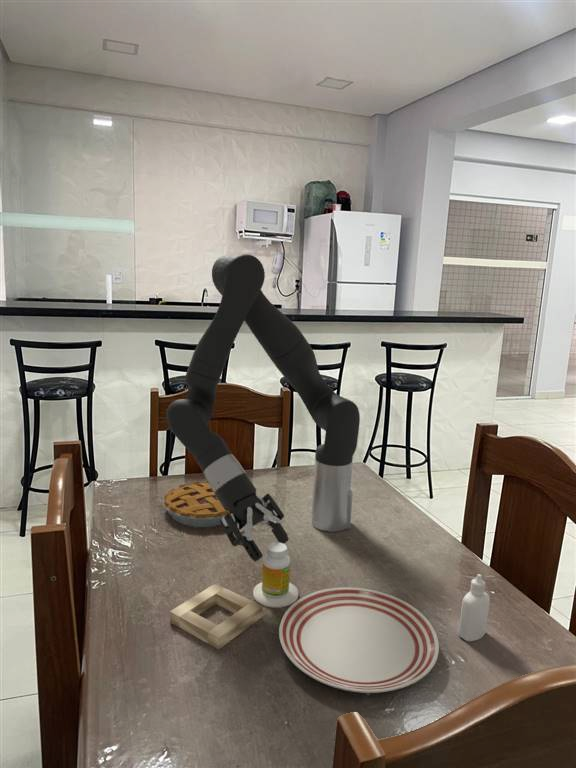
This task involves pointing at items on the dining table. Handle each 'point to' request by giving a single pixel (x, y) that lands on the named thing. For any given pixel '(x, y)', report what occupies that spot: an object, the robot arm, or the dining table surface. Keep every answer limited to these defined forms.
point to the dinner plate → (359, 640)
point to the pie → (194, 505)
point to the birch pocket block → (207, 630)
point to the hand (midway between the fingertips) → (272, 550)
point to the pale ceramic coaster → (275, 602)
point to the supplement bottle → (276, 571)
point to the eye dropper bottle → (474, 611)
